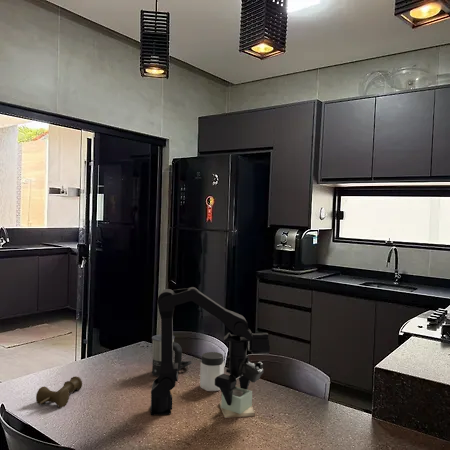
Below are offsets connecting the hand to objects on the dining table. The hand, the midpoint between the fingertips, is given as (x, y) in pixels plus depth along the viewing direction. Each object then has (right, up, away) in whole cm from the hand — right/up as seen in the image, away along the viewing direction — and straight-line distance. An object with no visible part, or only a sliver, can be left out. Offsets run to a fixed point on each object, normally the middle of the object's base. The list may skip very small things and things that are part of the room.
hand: (236, 400), depth 143 cm
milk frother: (-26, -2, +34) cm, 43 cm away
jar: (-9, -3, +19) cm, 21 cm away
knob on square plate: (0, -3, 0) cm, 3 cm away
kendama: (-61, -2, +5) cm, 61 cm away
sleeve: (0, -2, 0) cm, 2 cm away
